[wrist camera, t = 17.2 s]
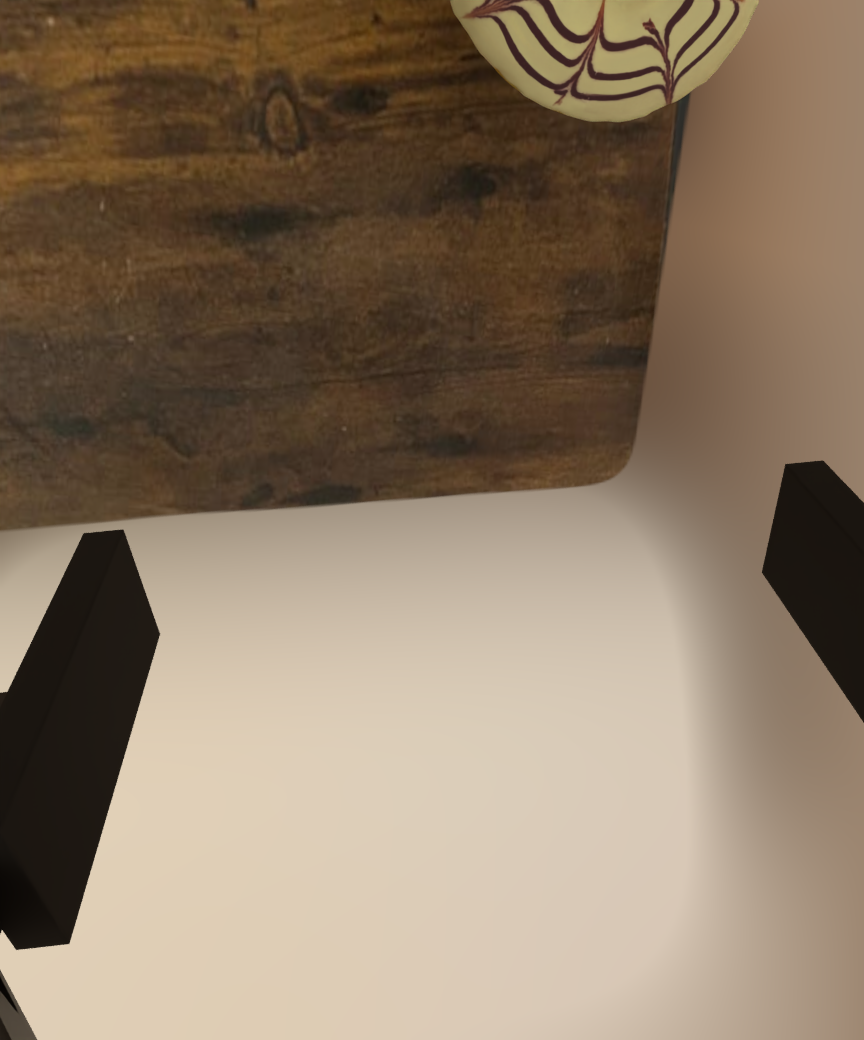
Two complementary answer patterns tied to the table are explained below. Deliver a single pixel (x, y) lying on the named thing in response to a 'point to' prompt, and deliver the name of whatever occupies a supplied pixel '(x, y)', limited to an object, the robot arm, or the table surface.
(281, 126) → the table surface
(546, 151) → the table surface
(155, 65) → the table surface
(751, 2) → the decorated donut
